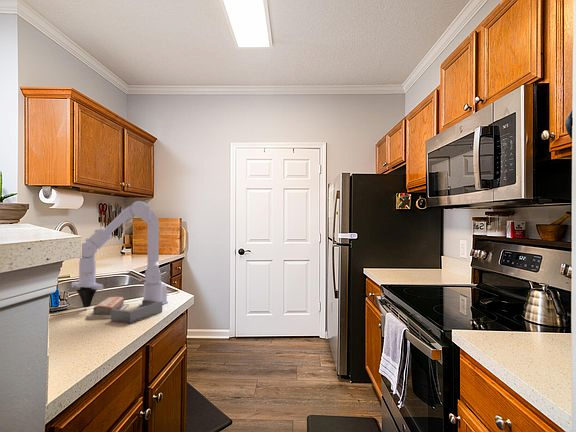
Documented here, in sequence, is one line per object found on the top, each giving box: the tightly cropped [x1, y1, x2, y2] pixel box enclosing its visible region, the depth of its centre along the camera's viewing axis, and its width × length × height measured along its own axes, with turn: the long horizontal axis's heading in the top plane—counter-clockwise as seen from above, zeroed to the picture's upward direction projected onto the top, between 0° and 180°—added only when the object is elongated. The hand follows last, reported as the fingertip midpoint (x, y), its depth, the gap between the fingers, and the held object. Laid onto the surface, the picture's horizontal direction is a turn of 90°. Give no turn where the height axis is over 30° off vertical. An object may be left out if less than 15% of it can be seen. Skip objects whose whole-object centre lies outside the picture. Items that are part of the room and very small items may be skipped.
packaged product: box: [85, 296, 130, 320], centre depth 139 cm, size 18×5×10 cm
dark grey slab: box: [110, 299, 163, 325], centre depth 134 cm, size 17×8×4 cm, turn 161°
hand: (86, 306), depth 142 cm, fingers closed
